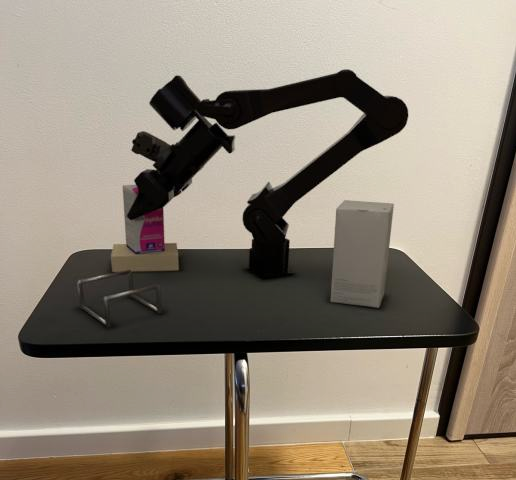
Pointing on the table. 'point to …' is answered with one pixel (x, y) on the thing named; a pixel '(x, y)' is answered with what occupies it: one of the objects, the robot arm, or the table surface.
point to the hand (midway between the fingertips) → (135, 213)
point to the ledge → (144, 259)
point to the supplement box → (142, 226)
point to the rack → (118, 295)
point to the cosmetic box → (361, 252)
